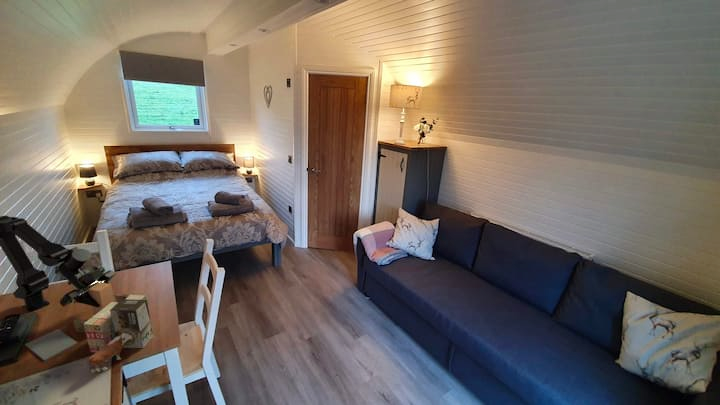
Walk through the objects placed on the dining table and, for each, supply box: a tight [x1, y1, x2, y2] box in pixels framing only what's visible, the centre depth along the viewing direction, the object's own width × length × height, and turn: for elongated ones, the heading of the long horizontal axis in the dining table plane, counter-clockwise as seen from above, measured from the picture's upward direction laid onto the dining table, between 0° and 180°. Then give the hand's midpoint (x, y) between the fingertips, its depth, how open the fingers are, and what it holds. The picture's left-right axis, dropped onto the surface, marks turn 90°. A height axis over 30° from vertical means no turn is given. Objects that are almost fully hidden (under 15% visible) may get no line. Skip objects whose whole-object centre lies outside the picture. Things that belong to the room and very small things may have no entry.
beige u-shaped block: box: [73, 293, 131, 334], centre depth 124 cm, size 9×18×4 cm, turn 172°
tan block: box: [88, 282, 115, 317], centre depth 123 cm, size 5×5×14 cm
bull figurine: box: [87, 332, 133, 374], centre depth 103 cm, size 4×13×8 cm, turn 161°
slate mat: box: [25, 328, 79, 362], centre depth 109 cm, size 14×9×1 cm, turn 64°
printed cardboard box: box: [84, 294, 147, 354], centre depth 116 cm, size 21×6×12 cm, turn 179°
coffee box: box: [110, 299, 154, 349], centre depth 111 cm, size 9×6×16 cm
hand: (105, 302), depth 122 cm, fingers closed on tan block, 5 cm apart
